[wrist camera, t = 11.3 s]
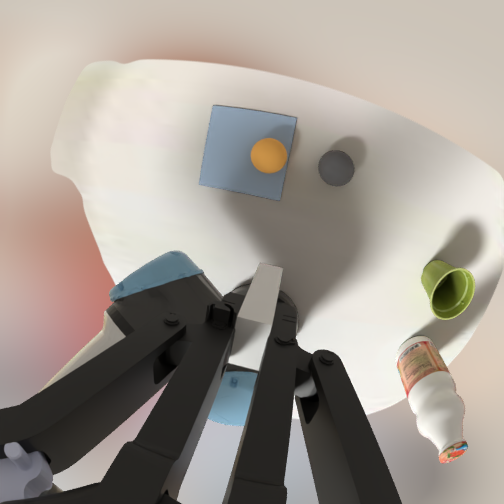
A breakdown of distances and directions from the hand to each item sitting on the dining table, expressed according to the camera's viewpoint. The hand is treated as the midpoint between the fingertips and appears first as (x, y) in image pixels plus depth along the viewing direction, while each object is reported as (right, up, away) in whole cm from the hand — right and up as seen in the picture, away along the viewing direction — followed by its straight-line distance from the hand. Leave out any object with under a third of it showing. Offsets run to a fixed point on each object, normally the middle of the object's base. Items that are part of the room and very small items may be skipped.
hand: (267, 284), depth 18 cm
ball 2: (+12, +15, +22) cm, 29 cm away
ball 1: (+2, +17, +23) cm, 28 cm away
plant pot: (+33, -2, +26) cm, 42 cm away
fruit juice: (+34, -19, +32) cm, 50 cm away
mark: (-2, +18, +26) cm, 32 cm away
